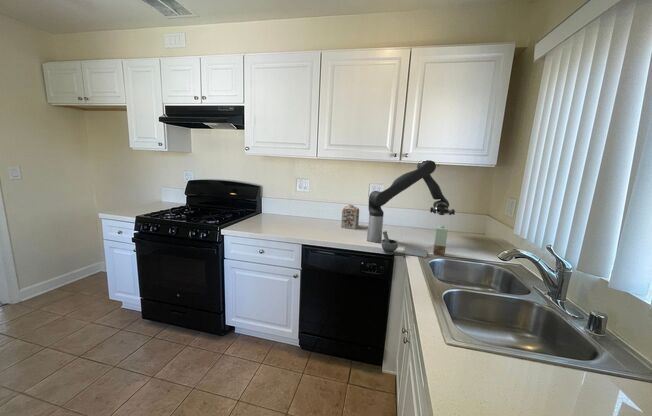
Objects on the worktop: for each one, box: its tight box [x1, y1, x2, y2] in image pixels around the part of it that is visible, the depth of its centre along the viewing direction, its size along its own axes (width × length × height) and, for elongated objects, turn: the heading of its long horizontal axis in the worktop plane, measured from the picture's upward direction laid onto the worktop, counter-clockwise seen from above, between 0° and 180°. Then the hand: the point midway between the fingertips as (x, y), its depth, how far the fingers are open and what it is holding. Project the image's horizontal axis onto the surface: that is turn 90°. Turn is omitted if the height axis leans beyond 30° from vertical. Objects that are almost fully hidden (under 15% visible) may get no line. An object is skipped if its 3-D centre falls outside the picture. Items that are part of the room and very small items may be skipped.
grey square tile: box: [402, 246, 428, 259], centre depth 161 cm, size 13×13×1 cm
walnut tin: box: [432, 244, 447, 257], centre depth 160 cm, size 6×6×8 cm
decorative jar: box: [340, 203, 360, 230], centre depth 215 cm, size 12×12×18 cm
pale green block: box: [433, 225, 449, 248], centre depth 158 cm, size 6×6×11 cm
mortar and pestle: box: [380, 230, 399, 255], centre depth 159 cm, size 11×9×12 cm
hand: (442, 212), depth 167 cm, fingers open, 8 cm apart
